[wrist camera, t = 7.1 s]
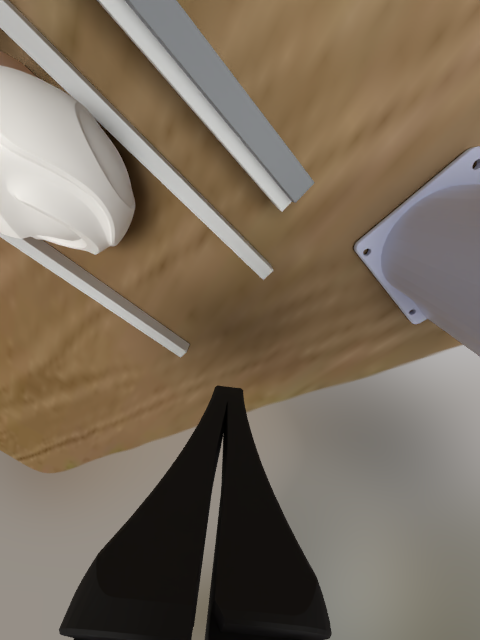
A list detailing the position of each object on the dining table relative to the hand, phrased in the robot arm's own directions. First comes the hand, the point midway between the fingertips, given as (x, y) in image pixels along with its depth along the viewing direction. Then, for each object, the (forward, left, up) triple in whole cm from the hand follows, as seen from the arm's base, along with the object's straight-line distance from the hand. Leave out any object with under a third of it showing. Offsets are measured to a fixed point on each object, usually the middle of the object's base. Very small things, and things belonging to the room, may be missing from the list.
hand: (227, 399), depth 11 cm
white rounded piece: (+14, -1, -10) cm, 17 cm away
